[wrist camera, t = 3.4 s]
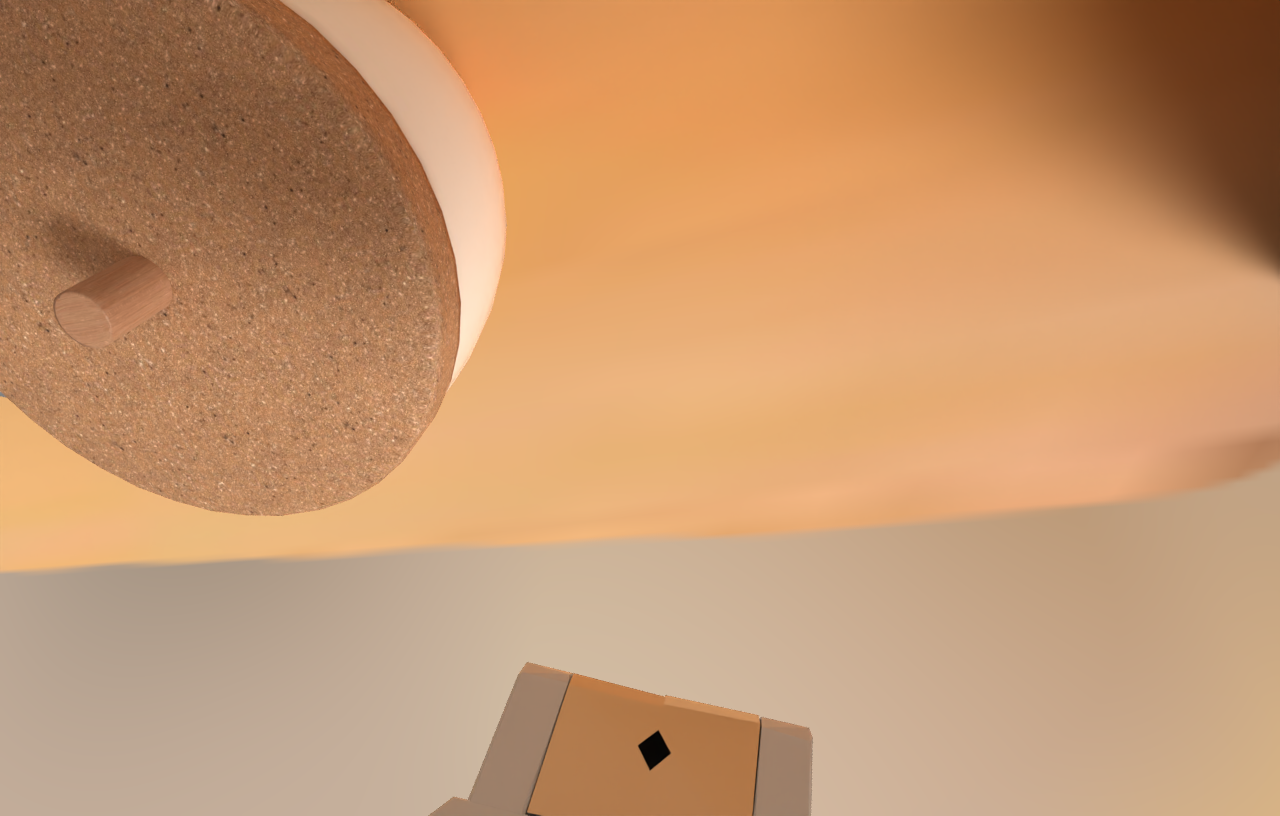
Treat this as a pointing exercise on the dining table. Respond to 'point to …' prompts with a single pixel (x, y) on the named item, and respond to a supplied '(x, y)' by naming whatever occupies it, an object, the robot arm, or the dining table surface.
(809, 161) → the dining table surface
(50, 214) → the lidded jar
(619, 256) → the dining table surface
